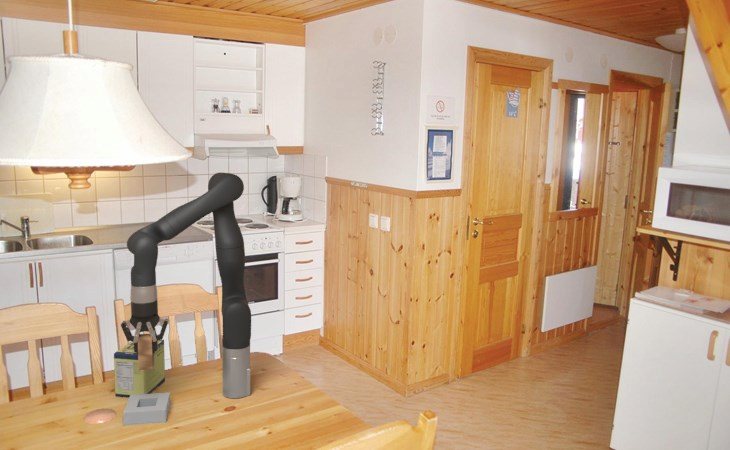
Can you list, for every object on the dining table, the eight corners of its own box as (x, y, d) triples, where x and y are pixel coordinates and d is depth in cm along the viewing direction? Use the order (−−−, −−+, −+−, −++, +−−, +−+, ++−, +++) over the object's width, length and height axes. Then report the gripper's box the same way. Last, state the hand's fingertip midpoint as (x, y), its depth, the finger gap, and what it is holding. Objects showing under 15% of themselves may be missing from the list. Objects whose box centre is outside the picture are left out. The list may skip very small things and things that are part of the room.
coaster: (118, 409, 180) (118, 407, 180) (112, 423, 171) (112, 421, 171) (88, 412, 178) (87, 409, 178) (80, 426, 169) (80, 423, 169)
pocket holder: (170, 405, 184) (169, 392, 183) (165, 423, 172) (165, 410, 172) (130, 408, 181) (130, 395, 181) (123, 427, 170) (123, 413, 169)
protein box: (165, 380, 202) (164, 338, 200) (144, 400, 187) (143, 355, 184) (137, 378, 203) (136, 337, 201) (114, 398, 188) (112, 353, 185)
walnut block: (154, 364, 177) (153, 333, 175) (152, 369, 173) (151, 338, 171) (140, 364, 176) (139, 334, 174) (138, 370, 172) (137, 338, 170)
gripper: (170, 294, 176) (171, 346, 179) (121, 296, 173) (123, 349, 176) (167, 301, 169) (169, 356, 172) (116, 303, 166) (118, 358, 168)
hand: (146, 352), depth 174 cm, fingers closed on walnut block, 4 cm apart
